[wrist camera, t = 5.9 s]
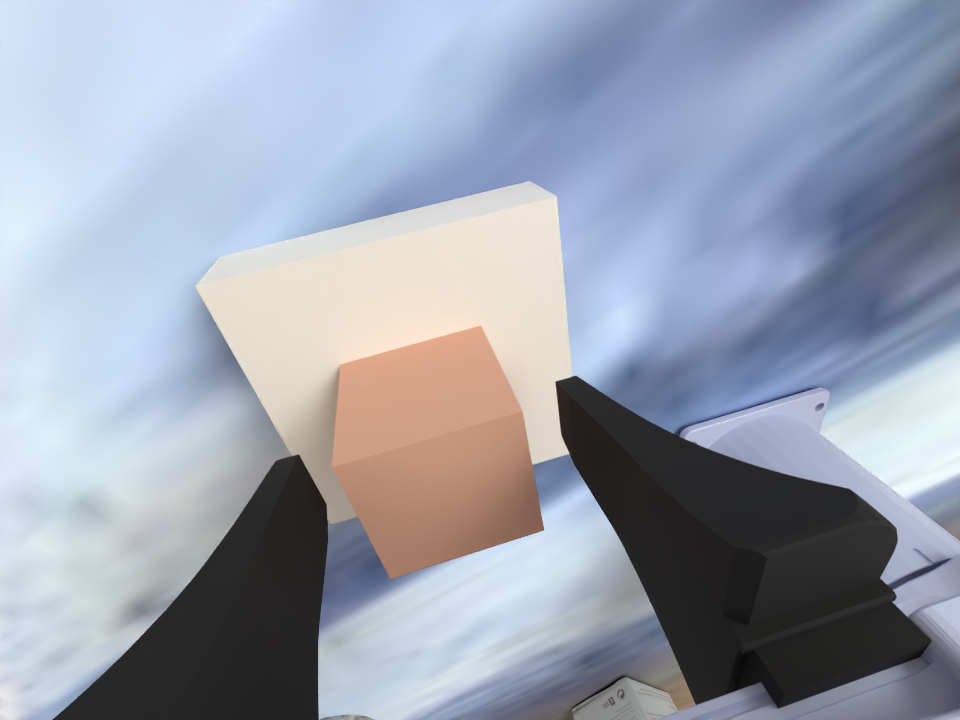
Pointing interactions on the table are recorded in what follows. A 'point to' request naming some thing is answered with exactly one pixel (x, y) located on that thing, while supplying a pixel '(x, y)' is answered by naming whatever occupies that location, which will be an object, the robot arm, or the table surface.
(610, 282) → the table surface
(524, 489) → the cube
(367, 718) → the mug
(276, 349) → the pedestal
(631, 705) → the skincare box
